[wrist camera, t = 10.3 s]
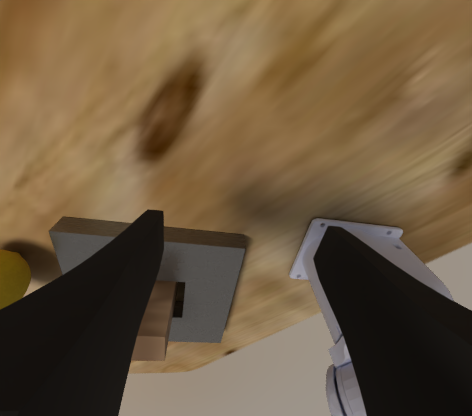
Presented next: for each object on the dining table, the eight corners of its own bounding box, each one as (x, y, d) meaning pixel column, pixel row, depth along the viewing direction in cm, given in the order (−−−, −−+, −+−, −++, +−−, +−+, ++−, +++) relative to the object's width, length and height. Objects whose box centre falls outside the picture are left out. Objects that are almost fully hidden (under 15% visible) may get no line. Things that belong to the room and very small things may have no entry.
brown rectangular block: (178, 270, 24) (165, 336, 19) (176, 294, 27) (164, 360, 21) (138, 267, 24) (112, 335, 18) (140, 292, 26) (117, 360, 20)
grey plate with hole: (243, 234, 22) (245, 248, 21) (220, 327, 31) (220, 342, 29) (62, 216, 20) (48, 231, 18) (91, 322, 28) (83, 338, 27)
